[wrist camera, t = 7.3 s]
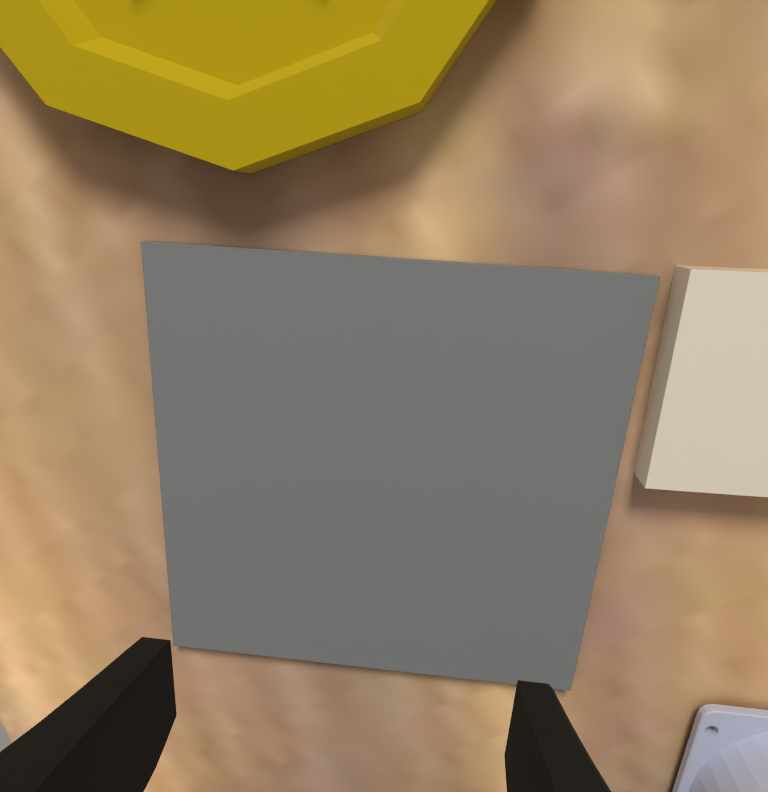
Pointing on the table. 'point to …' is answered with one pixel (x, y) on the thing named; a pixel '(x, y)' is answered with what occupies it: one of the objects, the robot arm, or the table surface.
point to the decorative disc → (238, 67)
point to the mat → (388, 454)
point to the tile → (710, 386)
